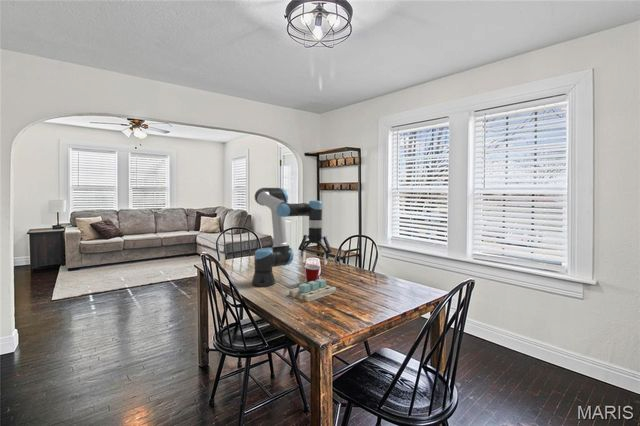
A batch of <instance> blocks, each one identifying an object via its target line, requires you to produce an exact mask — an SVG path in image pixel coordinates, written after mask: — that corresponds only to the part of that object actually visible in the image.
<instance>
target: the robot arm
mask: <svg viewBox="0 0 640 426" xmlns="http://www.w3.org/2000/svg"><path fill="white" fill-rule="evenodd" d="M254 200H255V203H256V204H258V205H260V206H263V207H267V208H269V209H270V211H271V213H270V214H271V221H272V223H271V224H272V233H273V245H272V247H261V248H258V249H256V250H255V251H254V257H253V258H254V272H253V277H252V280H251V285H252V286H254V287H257V288H258V287H261V288H263V287H264V288H265V287H271V286H273V285H275V284H276V280H275V276H274V272H273V268H277V267H283V266H287V265H288V266H289V265H290V264H292V262H293V260H294V251H293V249H292V248H291V247H290V244H289V243H288V242H287V233H286V222H285V218H286V217H308V235H307V234H304V235H303V237H302V241H301V243H300V244H299V246H298V251H300V254H301V257H302V263H306V258H307V257H306V256H307V255H306V254H307V253H306V252H307V250H306V249H307V248H308V247H309V245H310V244H311V243H312V244H318V245H319V246H320V247H321V249H322V250H323V251H324V255H323V257H324V258H323V260H324V261H323V265H324V266H326V265H328V259H329V257H330V255H329V254H330V253H332V252H333V250H332V247H331V246H330V244H329V241H328V237H327V235H325V236H324V235H323V236H322V230H323V229H322V226H323V225H322V224H323V221H322V220H323V201H321V200H310V201H309V202H308V203H306V202H300V203H289V202H288V200H289V194H288V192H287V190H285V189H284V188H283V187H262V188H259V189H257V191H256V192H255V194H254ZM307 239H308V240H307ZM306 241H307V242H306ZM323 242H324V243H323ZM305 243H306V244H305ZM324 244H325V245H324Z"/></svg>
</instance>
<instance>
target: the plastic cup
mask: <svg viewBox="0 0 640 426" xmlns="http://www.w3.org/2000/svg"><path fill="white" fill-rule="evenodd" d="M321 268H322V267H321V266H320V265H317V264H305V265H304V269H305V274H306V275H305V277H306V281H307V282H311V281H315V280H318V278H319V272H320V270H321ZM307 282H306V283H307Z"/></svg>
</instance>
